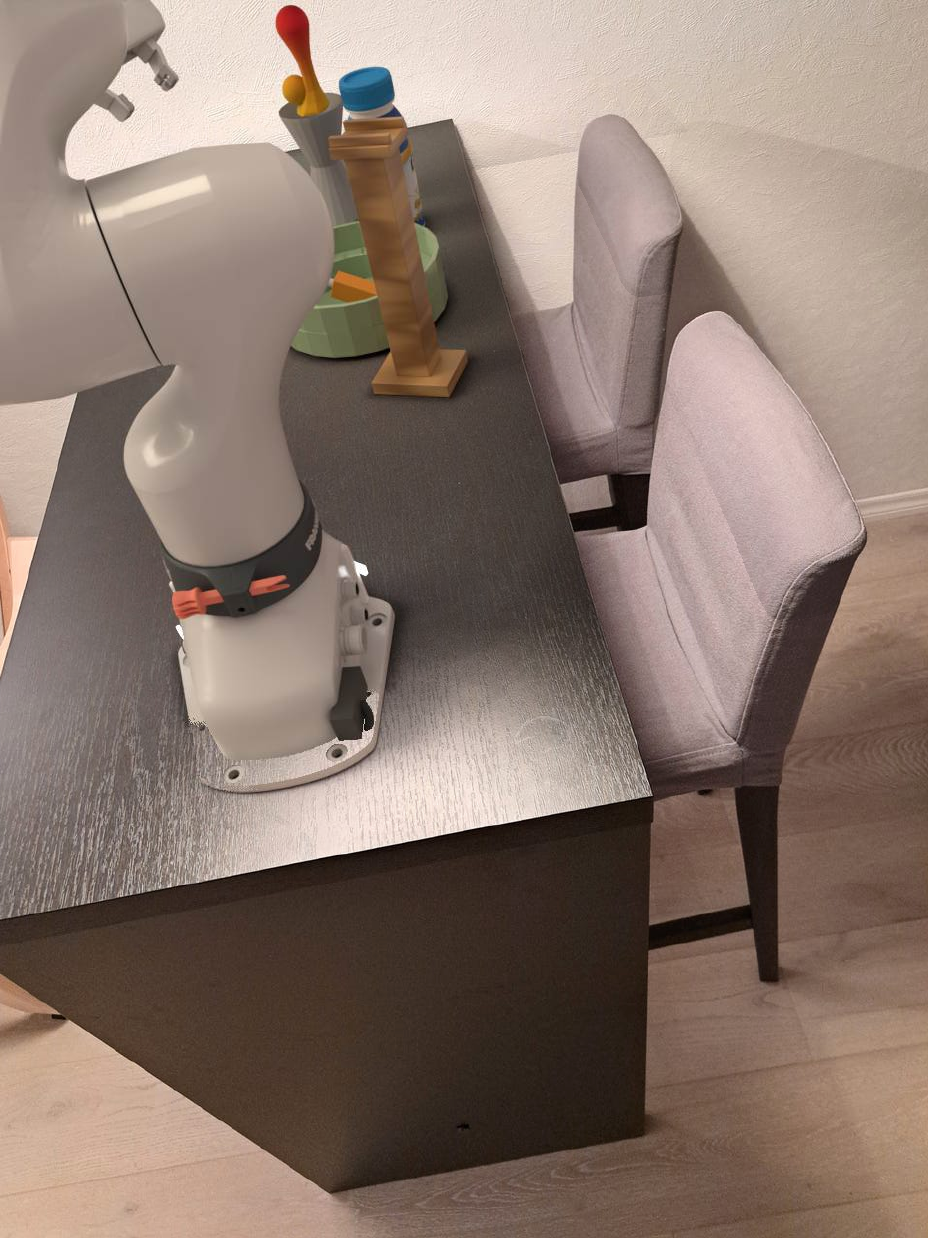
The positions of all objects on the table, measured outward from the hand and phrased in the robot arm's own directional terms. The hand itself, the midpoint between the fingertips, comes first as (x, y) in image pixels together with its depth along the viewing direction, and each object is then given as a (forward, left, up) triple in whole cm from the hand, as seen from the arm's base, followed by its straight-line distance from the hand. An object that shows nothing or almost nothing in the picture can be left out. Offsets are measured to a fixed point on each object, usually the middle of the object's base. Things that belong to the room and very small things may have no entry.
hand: (151, 100), depth 101 cm
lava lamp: (+27, -15, -27) cm, 41 cm away
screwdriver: (-3, -13, -23) cm, 27 cm away
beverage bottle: (+17, -23, -27) cm, 39 cm away
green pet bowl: (-4, -17, -27) cm, 32 cm away
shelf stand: (-21, -22, -27) cm, 41 cm away
